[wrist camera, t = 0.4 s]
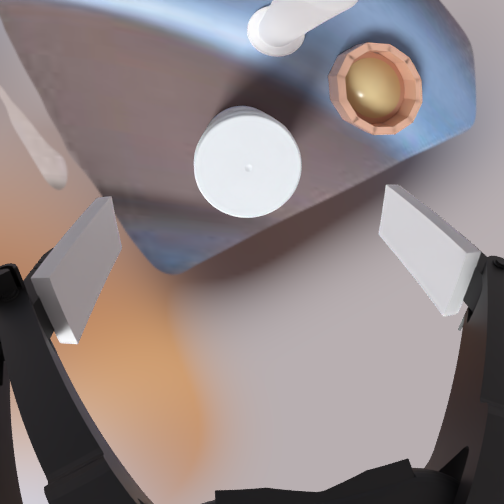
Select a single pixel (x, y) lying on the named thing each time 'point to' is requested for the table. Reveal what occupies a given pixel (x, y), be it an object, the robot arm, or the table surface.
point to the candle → (290, 23)
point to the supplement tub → (247, 162)
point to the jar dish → (375, 88)
